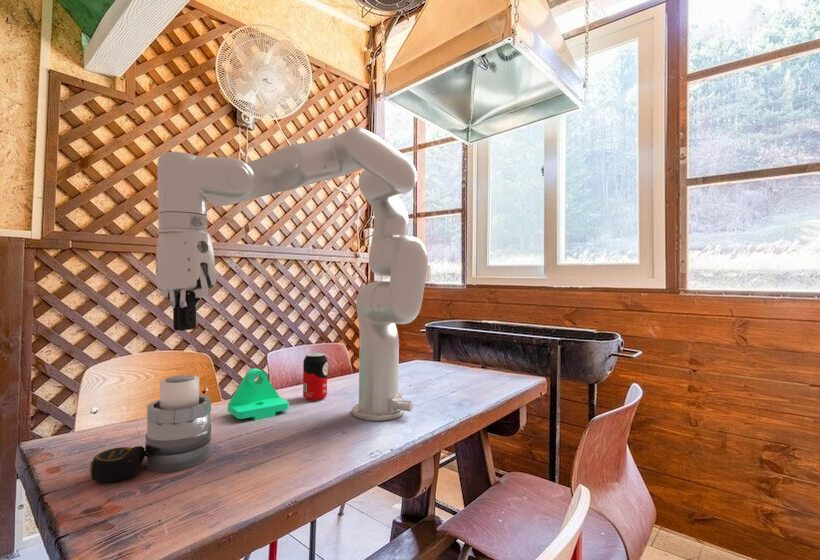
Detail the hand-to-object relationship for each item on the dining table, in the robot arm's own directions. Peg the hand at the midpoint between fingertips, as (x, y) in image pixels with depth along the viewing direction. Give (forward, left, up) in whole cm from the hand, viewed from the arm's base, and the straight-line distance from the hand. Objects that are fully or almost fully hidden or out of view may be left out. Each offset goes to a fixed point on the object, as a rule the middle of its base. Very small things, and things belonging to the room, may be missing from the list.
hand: (184, 329), depth 72 cm
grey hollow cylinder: (0, +1, -23) cm, 23 cm away
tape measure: (+4, +8, -23) cm, 25 cm away
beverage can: (+2, -40, -23) cm, 47 cm away
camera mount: (+6, -24, -23) cm, 34 cm away
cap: (0, +1, -15) cm, 15 cm away
